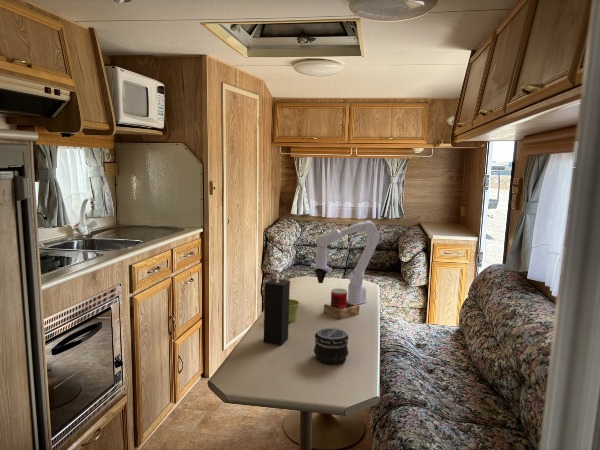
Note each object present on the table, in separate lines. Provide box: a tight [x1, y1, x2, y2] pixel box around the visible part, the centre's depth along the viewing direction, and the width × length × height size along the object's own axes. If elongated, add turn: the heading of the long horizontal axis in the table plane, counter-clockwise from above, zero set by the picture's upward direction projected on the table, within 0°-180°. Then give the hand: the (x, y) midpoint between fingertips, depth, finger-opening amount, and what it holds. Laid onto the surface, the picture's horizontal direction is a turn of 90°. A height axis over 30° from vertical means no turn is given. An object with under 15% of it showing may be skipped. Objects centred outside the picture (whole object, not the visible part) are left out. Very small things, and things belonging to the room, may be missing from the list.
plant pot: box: [289, 298, 300, 323], centre depth 201 cm, size 9×9×9 cm
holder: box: [323, 302, 360, 320], centre depth 213 cm, size 13×12×4 cm
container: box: [313, 327, 349, 366], centre depth 162 cm, size 13×13×10 cm
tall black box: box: [263, 273, 291, 346], centre depth 175 cm, size 8×8×28 cm
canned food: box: [330, 288, 348, 310], centre depth 214 cm, size 8×8×11 cm
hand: (320, 282), depth 231 cm, fingers closed
